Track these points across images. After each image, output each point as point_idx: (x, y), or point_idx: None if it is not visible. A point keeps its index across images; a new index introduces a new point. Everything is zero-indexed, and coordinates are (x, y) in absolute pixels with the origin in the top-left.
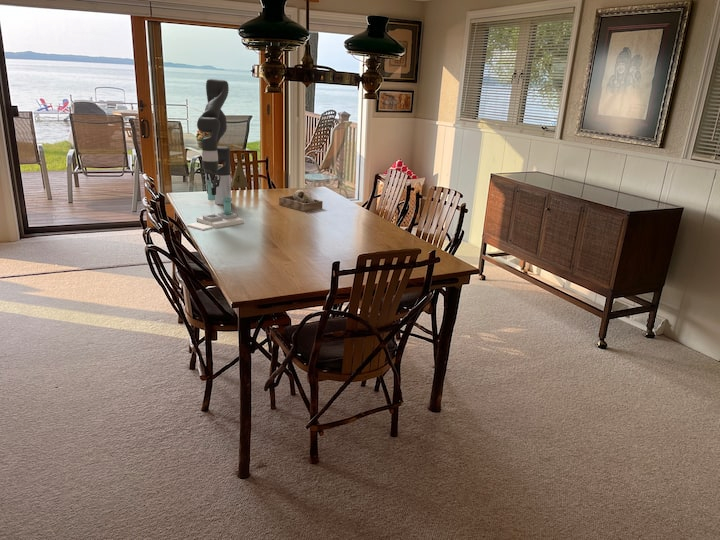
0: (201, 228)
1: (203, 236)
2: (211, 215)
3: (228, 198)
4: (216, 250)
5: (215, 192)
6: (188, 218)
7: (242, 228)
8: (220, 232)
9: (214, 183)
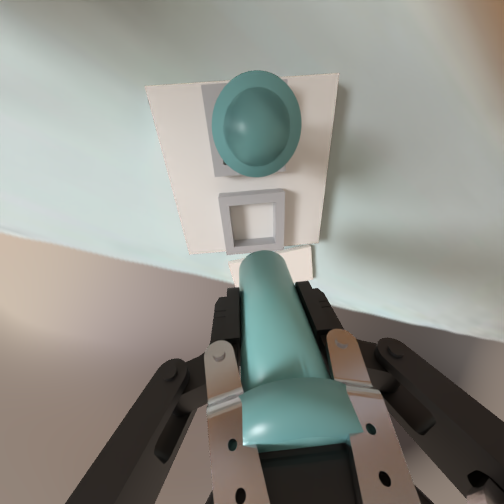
0: (305, 280)
1: (358, 296)
2: (230, 218)
3: (272, 122)
4: (459, 313)
5: (322, 302)
6: (137, 253)
7: (392, 151)
8: (365, 246)
9: (410, 416)
